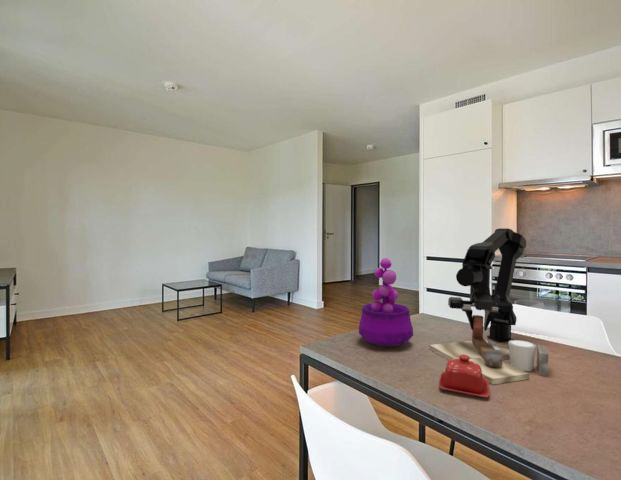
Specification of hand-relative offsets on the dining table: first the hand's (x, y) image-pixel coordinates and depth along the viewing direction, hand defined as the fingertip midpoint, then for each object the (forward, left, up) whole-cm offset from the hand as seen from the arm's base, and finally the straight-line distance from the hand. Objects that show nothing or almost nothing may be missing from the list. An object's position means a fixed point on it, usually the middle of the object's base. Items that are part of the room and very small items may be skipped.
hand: (478, 329), depth 115 cm
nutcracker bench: (+4, +9, -7) cm, 12 cm away
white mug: (-1, +16, -7) cm, 17 cm away
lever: (+4, +8, -4) cm, 10 cm away
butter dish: (+24, +22, -7) cm, 33 cm away
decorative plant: (+27, -14, -7) cm, 31 cm away
